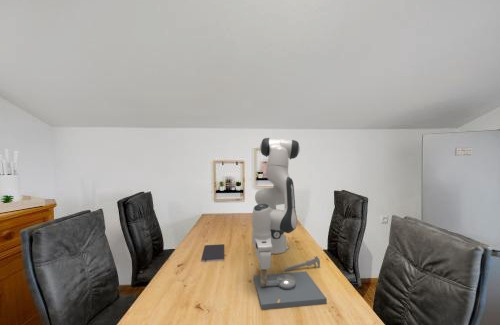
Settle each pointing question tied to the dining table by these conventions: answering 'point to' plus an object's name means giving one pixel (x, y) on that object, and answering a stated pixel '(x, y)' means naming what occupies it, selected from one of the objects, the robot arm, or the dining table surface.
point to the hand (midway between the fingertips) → (261, 269)
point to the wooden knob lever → (278, 281)
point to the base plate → (289, 292)
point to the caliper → (304, 264)
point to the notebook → (213, 253)
